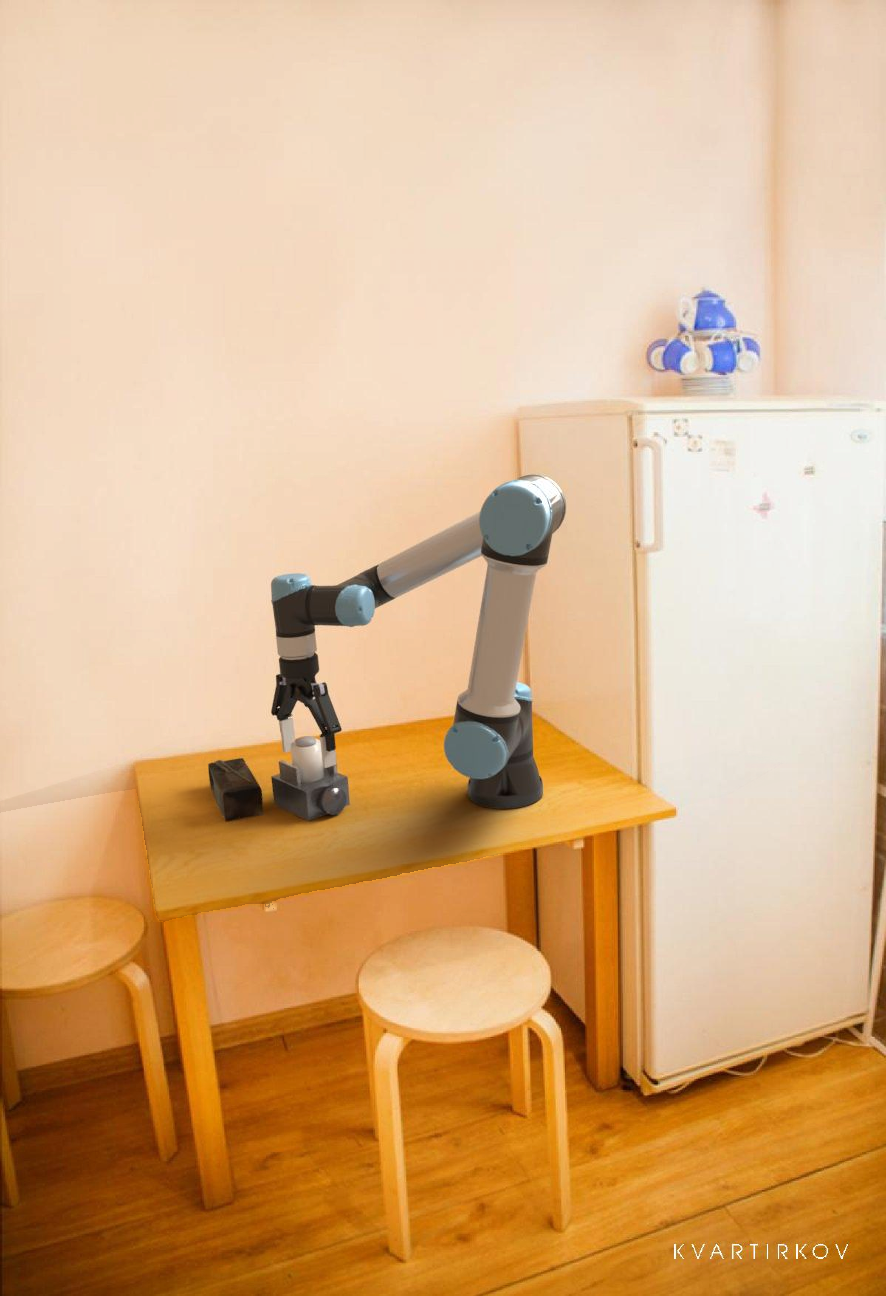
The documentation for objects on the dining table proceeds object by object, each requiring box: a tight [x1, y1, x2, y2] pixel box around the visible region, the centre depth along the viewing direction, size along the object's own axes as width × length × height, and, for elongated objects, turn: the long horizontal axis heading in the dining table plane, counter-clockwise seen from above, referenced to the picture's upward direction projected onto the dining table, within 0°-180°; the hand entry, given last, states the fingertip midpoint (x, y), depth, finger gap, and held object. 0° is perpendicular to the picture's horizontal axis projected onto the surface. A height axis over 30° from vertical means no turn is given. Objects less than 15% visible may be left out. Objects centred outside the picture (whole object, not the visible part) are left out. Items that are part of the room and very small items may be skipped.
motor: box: [270, 759, 351, 822], centre depth 196 cm, size 14×10×10 cm
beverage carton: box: [207, 757, 264, 822], centre depth 201 cm, size 8×19×7 cm, turn 22°
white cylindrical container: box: [290, 735, 324, 783], centre depth 195 cm, size 6×6×8 cm
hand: (309, 758), depth 195 cm, fingers open, 13 cm apart
